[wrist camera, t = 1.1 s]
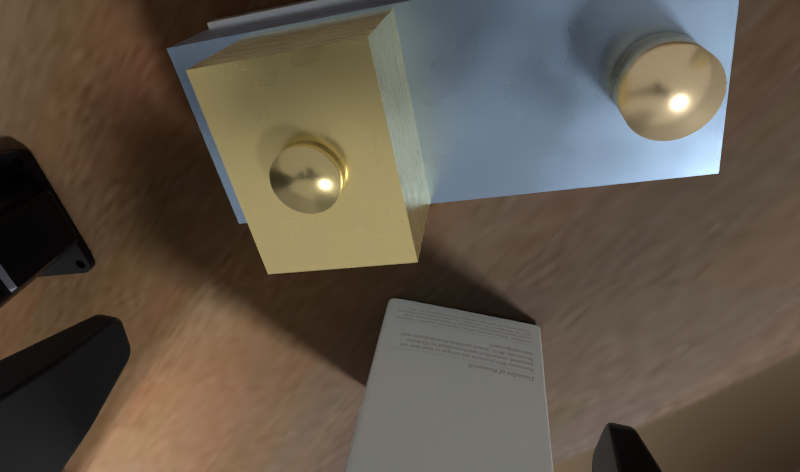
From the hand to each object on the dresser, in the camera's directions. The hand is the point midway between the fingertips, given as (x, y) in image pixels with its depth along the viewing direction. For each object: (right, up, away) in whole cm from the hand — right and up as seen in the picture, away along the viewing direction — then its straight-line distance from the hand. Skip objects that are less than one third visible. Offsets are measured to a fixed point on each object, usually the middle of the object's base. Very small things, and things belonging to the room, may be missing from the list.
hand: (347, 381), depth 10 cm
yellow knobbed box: (-1, +6, +7) cm, 9 cm away
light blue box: (+3, +9, +9) cm, 13 cm away
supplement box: (+4, -4, +17) cm, 18 cm away
